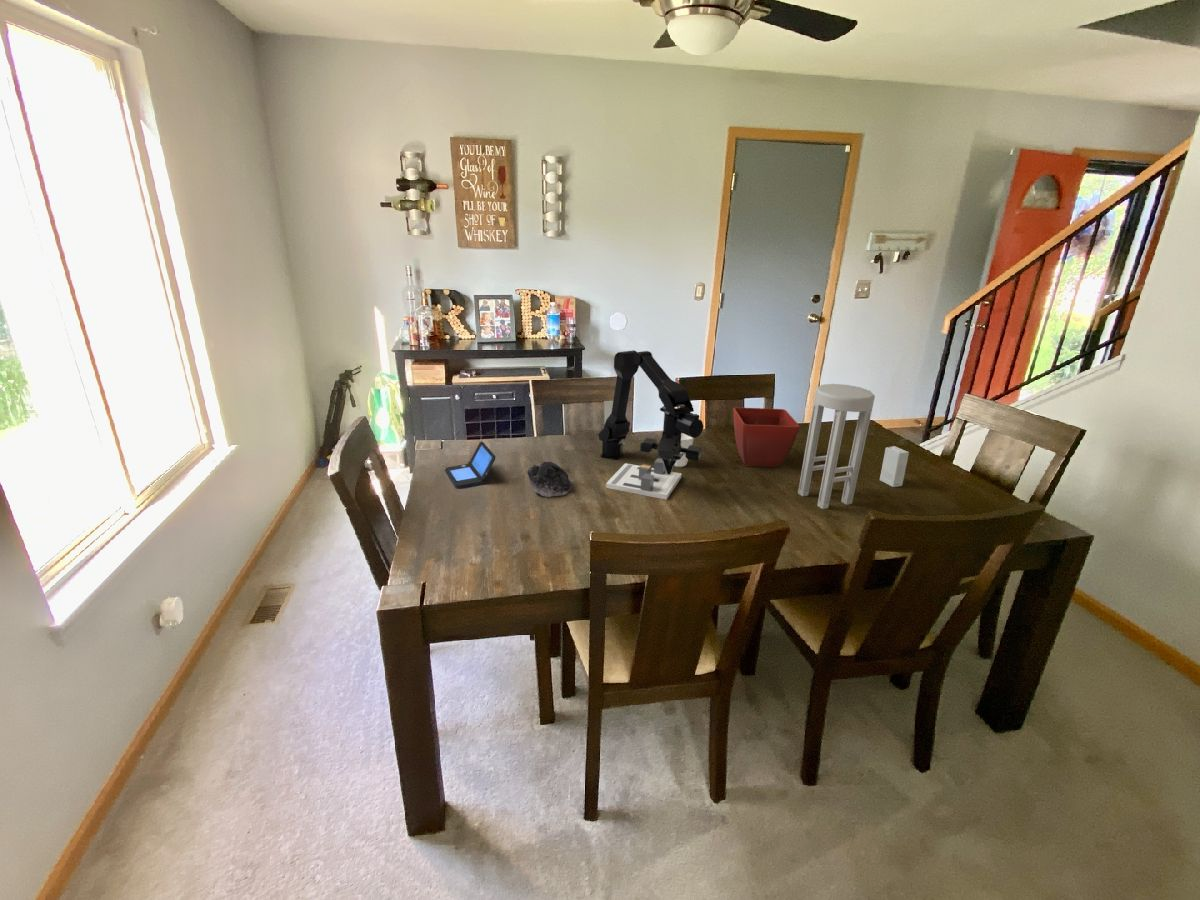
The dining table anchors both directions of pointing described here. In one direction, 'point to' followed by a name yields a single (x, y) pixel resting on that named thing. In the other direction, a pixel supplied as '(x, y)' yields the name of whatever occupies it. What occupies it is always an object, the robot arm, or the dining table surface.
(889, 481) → the skincare box
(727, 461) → the dining table surface
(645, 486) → the block
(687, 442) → the cup
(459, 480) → the handheld game console
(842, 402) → the stool
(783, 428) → the plant pot
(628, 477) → the panel
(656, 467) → the block
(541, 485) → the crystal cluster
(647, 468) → the block
